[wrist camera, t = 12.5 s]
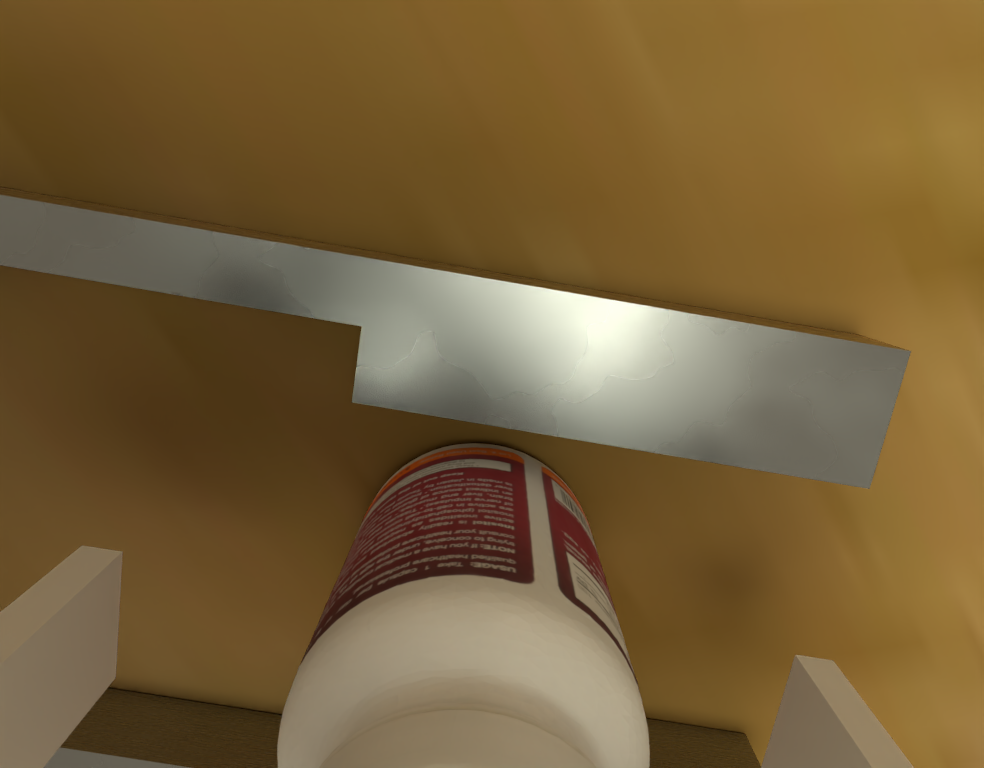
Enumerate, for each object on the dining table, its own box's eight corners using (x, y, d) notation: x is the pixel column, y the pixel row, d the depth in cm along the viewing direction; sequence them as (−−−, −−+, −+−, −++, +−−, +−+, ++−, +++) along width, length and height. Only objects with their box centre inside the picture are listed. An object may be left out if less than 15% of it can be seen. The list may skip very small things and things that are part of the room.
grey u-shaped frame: (-128, 696, 21) (-208, 756, 19) (-140, 163, 18) (-238, 153, 15) (718, 828, 22) (745, 901, 19) (858, 334, 18) (910, 351, 16)
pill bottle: (329, 596, 20) (129, 1026, 9) (416, 399, 19) (301, 632, 8) (533, 680, 21) (567, 1181, 10) (631, 492, 19) (793, 831, 9)
